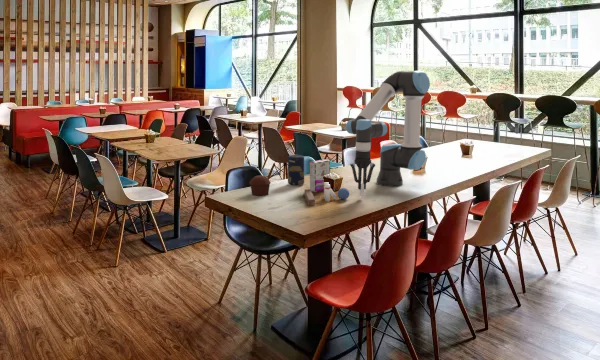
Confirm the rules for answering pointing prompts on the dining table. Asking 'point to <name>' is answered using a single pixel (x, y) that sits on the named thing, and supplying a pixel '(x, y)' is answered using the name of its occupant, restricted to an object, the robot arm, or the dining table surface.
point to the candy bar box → (318, 174)
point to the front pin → (332, 194)
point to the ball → (343, 193)
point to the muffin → (260, 185)
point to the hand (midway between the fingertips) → (361, 195)
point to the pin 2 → (327, 192)
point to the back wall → (309, 197)
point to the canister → (296, 170)
